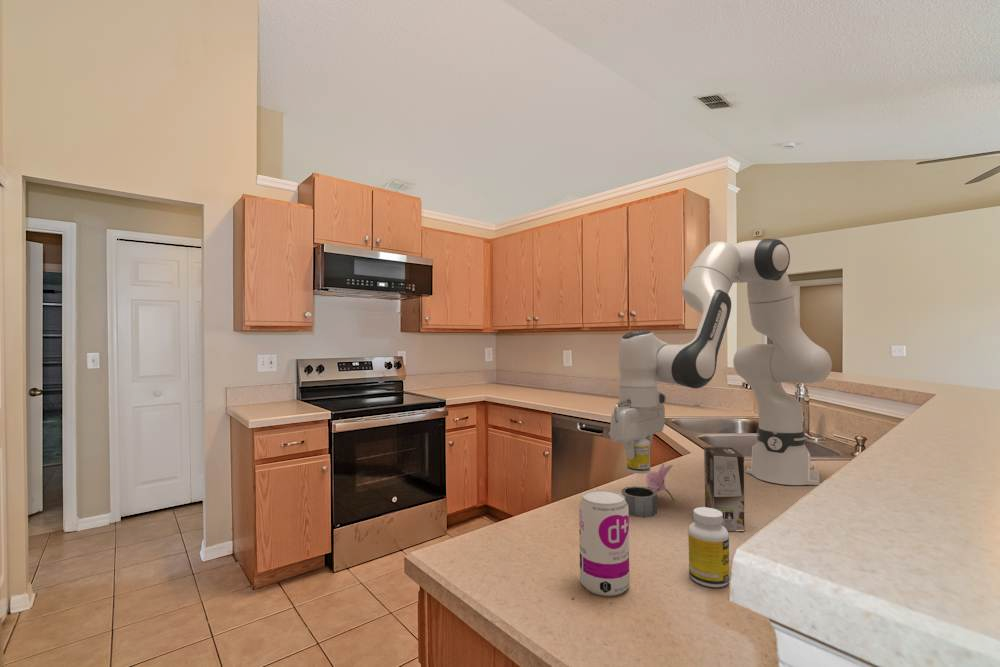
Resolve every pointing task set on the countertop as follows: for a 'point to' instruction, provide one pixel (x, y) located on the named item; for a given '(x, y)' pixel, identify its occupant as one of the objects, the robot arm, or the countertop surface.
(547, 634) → the countertop surface
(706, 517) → the pill bottle
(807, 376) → the robot arm
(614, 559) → the supplement can
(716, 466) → the coffee box
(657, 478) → the lily
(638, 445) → the supplement bottle
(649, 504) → the collar
